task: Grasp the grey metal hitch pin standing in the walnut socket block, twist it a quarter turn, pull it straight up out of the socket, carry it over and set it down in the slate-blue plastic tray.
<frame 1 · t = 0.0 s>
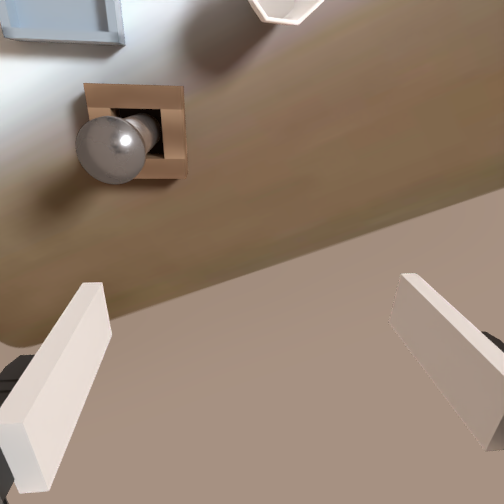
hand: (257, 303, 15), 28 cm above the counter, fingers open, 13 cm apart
pin: (130, 139, 31), in the socket block
socket block: (144, 130, 37), on the counter
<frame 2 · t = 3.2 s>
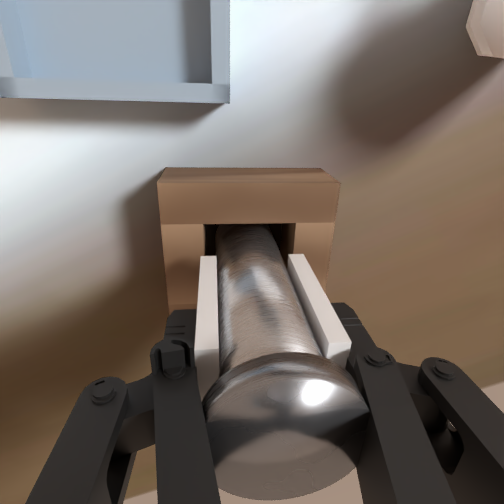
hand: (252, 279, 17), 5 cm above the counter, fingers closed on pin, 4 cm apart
pin: (256, 300, 15), in the socket block, touching gripper
socket block: (243, 239, 22), on the counter
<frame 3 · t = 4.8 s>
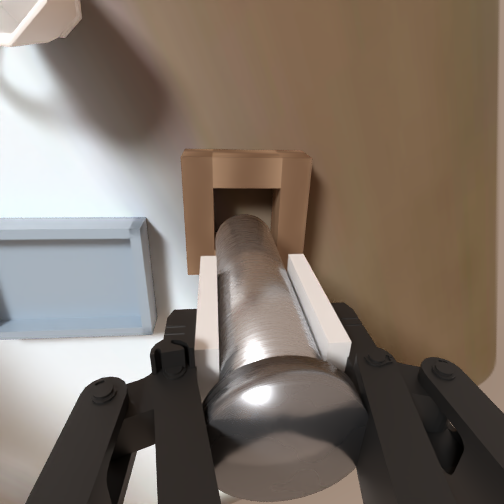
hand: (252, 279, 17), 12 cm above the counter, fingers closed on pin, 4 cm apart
cup: (26, 7, 22), on the counter
pin: (256, 303, 15), point 14 cm above the counter, touching gripper
tray: (69, 272, 29), on the counter
socket block: (243, 205, 28), on the counter
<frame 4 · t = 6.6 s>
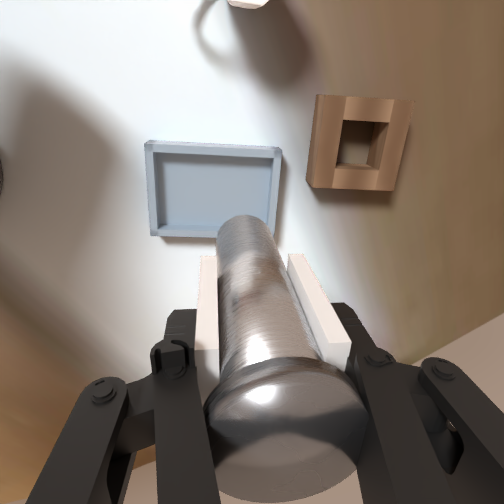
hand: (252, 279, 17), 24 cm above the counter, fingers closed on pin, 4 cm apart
pin: (257, 303, 16), point 26 cm above the counter, touching gripper
tray: (214, 189, 39), on the counter
socket block: (350, 141, 38), on the counter
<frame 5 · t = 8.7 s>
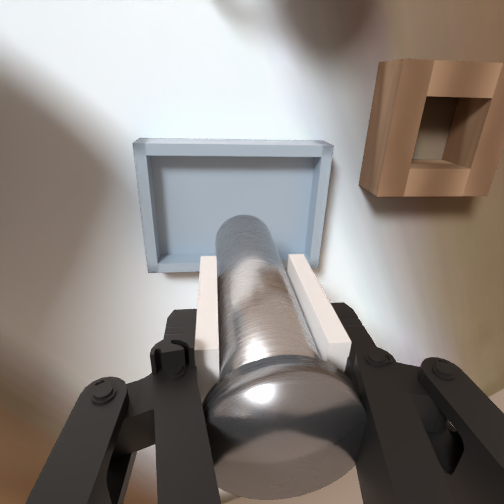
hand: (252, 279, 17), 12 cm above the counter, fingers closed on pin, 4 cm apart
pin: (256, 303, 16), point 14 cm above the counter, touching gripper
tray: (233, 202, 28), on the counter
socket block: (422, 128, 27), on the counter
when the fingers open (7 cm above the counter, at t = 10.3 s): pin stays where it is, resting on tray.
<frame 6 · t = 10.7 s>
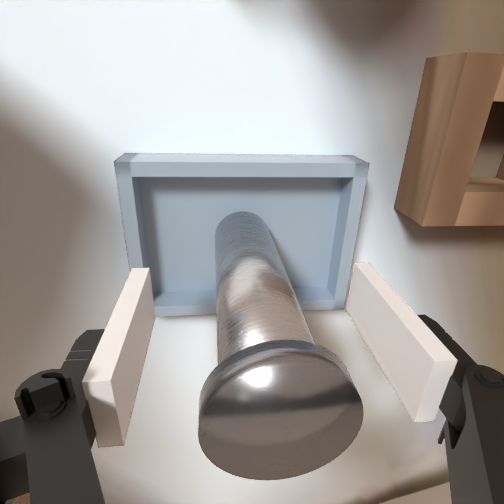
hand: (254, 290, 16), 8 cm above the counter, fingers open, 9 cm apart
pin: (254, 295, 16), in the tray, point 8 cm above the counter
tray: (241, 230, 23), on the counter
socket block: (474, 140, 22), on the counter
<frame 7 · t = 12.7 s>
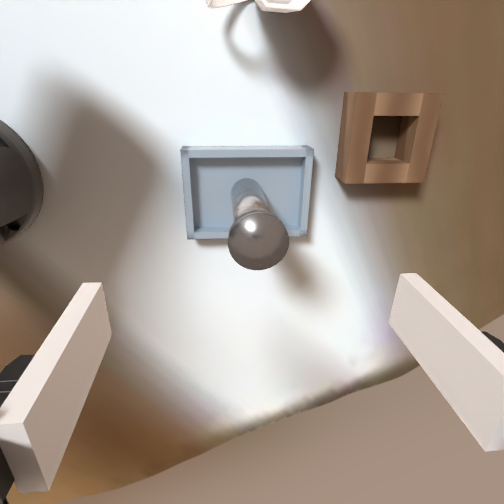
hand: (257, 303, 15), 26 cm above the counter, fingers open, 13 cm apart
pin: (251, 213, 33), in the tray, point 8 cm above the counter
tray: (246, 190, 40), on the counter
socket block: (378, 136, 39), on the counter
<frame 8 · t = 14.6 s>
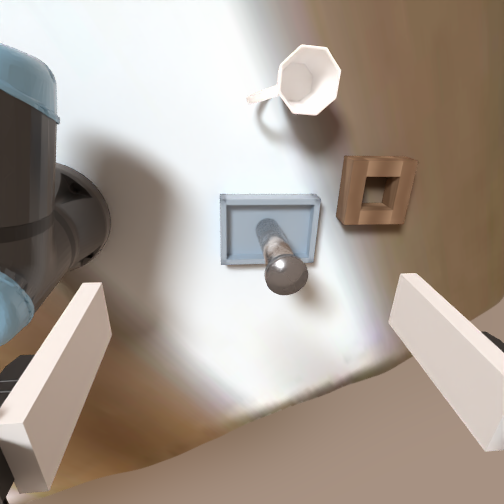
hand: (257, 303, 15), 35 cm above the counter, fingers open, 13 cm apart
cup: (281, 86, 43), on the counter
pin: (275, 250, 44), in the tray, point 8 cm above the counter
tray: (267, 226, 51), on the counter
socket block: (369, 187, 50), on the counter
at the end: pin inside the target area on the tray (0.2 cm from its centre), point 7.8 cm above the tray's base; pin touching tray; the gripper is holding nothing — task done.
